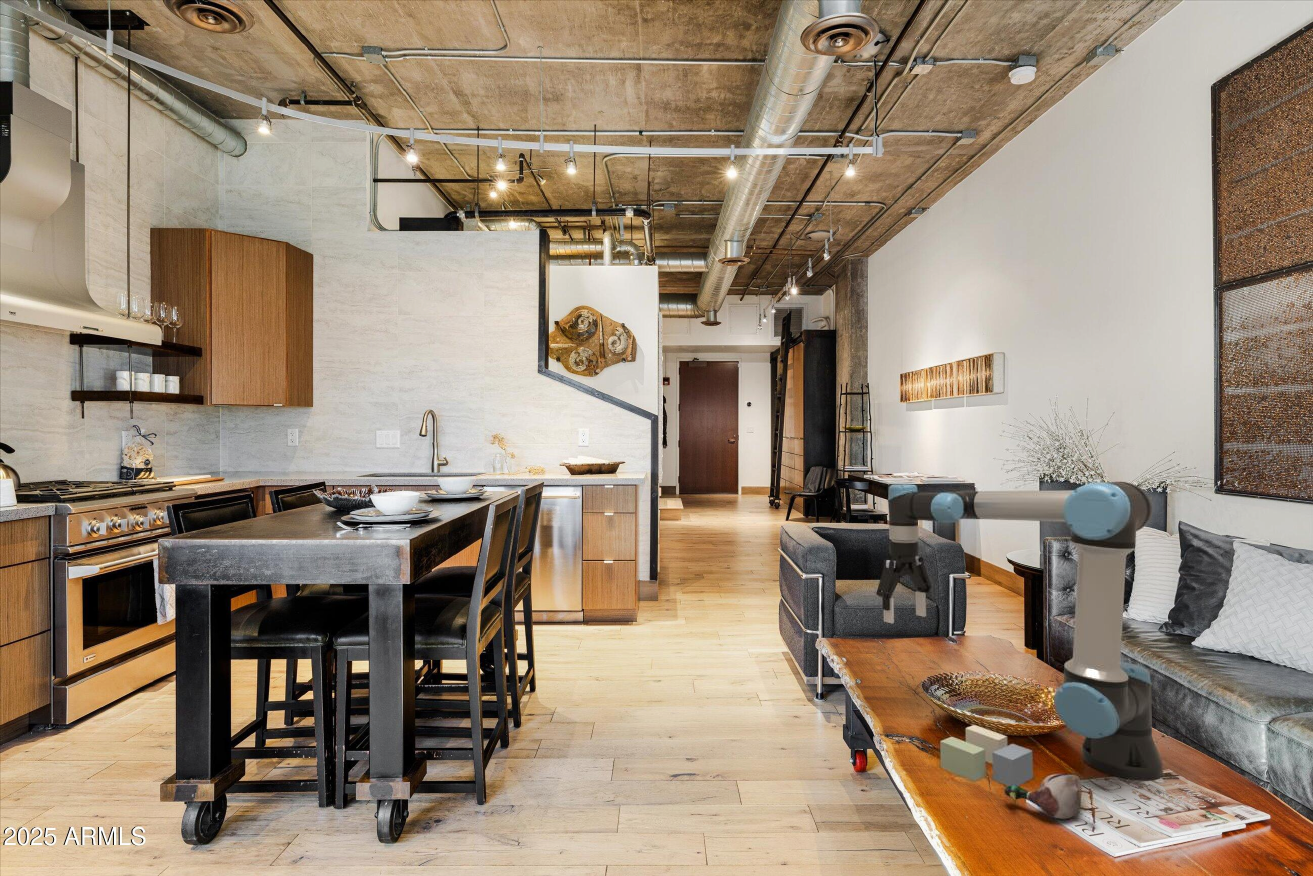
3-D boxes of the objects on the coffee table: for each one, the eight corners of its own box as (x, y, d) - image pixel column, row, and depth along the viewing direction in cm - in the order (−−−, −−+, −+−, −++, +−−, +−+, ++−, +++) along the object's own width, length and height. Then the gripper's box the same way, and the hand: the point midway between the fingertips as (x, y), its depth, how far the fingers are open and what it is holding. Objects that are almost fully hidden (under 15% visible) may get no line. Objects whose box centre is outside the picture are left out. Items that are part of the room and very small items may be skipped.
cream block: (1007, 762, 154) (1007, 736, 154) (998, 766, 152) (998, 740, 152) (974, 750, 161) (974, 724, 161) (965, 754, 159) (965, 728, 159)
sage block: (985, 776, 147) (985, 749, 147) (974, 782, 145) (973, 754, 145) (952, 763, 154) (951, 736, 154) (940, 768, 152) (940, 741, 152)
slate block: (1013, 770, 150) (1012, 743, 150) (1033, 778, 146) (1032, 750, 146) (993, 780, 146) (992, 752, 146) (1013, 788, 142) (1012, 760, 142)
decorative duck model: (998, 779, 133) (1014, 750, 144) (1003, 818, 132) (1019, 786, 144) (1087, 795, 123) (1096, 763, 135) (1092, 837, 123) (1101, 801, 135)
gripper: (920, 536, 193) (922, 610, 192) (861, 542, 180) (863, 622, 179) (943, 538, 187) (945, 615, 186) (884, 545, 173) (886, 628, 173)
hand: (905, 619), depth 183 cm, fingers open, 13 cm apart
